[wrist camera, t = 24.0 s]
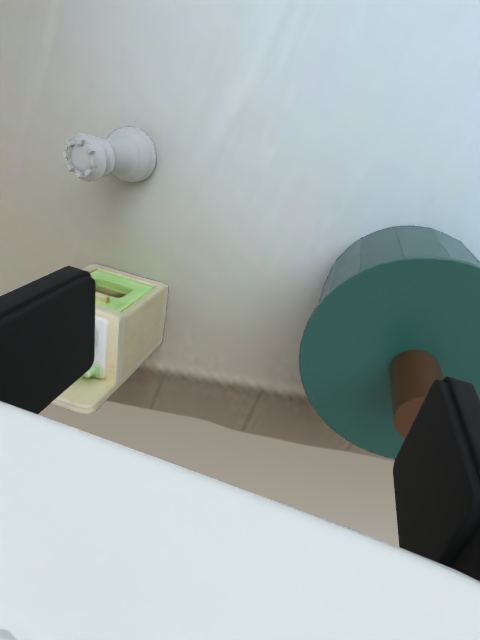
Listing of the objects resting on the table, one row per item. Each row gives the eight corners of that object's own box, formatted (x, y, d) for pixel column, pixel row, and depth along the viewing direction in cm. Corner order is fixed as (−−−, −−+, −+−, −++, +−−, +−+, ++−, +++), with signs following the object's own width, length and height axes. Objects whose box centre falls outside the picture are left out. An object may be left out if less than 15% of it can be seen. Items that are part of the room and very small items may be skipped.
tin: (367, 199, 32) (367, 225, 22) (522, 267, 31) (593, 326, 21) (300, 328, 38) (277, 393, 28) (428, 389, 36) (450, 479, 27)
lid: (364, 212, 22) (363, 235, 17) (605, 318, 21) (687, 380, 16) (270, 391, 29) (247, 450, 23) (451, 481, 28) (471, 565, 22)
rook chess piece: (126, 189, 37) (69, 200, 30) (104, 139, 36) (39, 138, 29) (166, 170, 35) (116, 177, 28) (145, 117, 34) (87, 111, 27)
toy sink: (172, 279, 39) (91, 337, 28) (164, 343, 43) (89, 418, 31) (94, 256, 41) (-13, 302, 29) (92, 320, 44) (-5, 384, 33)
